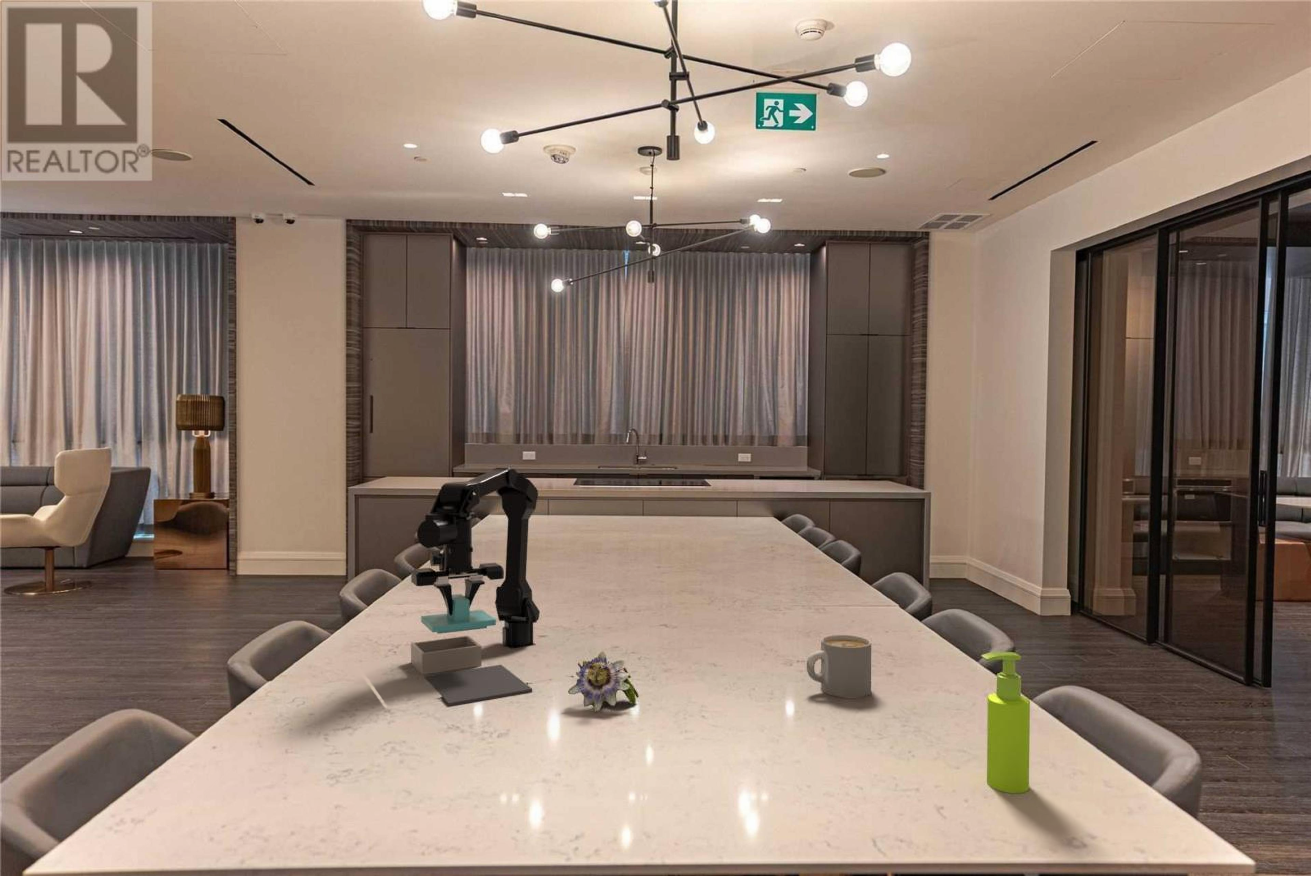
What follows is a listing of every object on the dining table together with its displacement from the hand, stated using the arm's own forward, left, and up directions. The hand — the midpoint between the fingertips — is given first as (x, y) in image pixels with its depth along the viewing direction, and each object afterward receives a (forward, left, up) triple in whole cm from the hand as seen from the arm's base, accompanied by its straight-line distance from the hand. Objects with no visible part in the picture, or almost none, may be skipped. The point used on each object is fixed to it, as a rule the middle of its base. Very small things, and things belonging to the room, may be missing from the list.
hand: (458, 614), depth 180 cm
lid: (0, 0, -3) cm, 3 cm away
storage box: (+1, -7, -13) cm, 15 cm away
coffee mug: (-64, +48, -14) cm, 81 cm away
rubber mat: (-1, +9, -13) cm, 16 cm away
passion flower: (-19, +32, -14) cm, 39 cm away
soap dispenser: (-56, +94, -13) cm, 110 cm away
